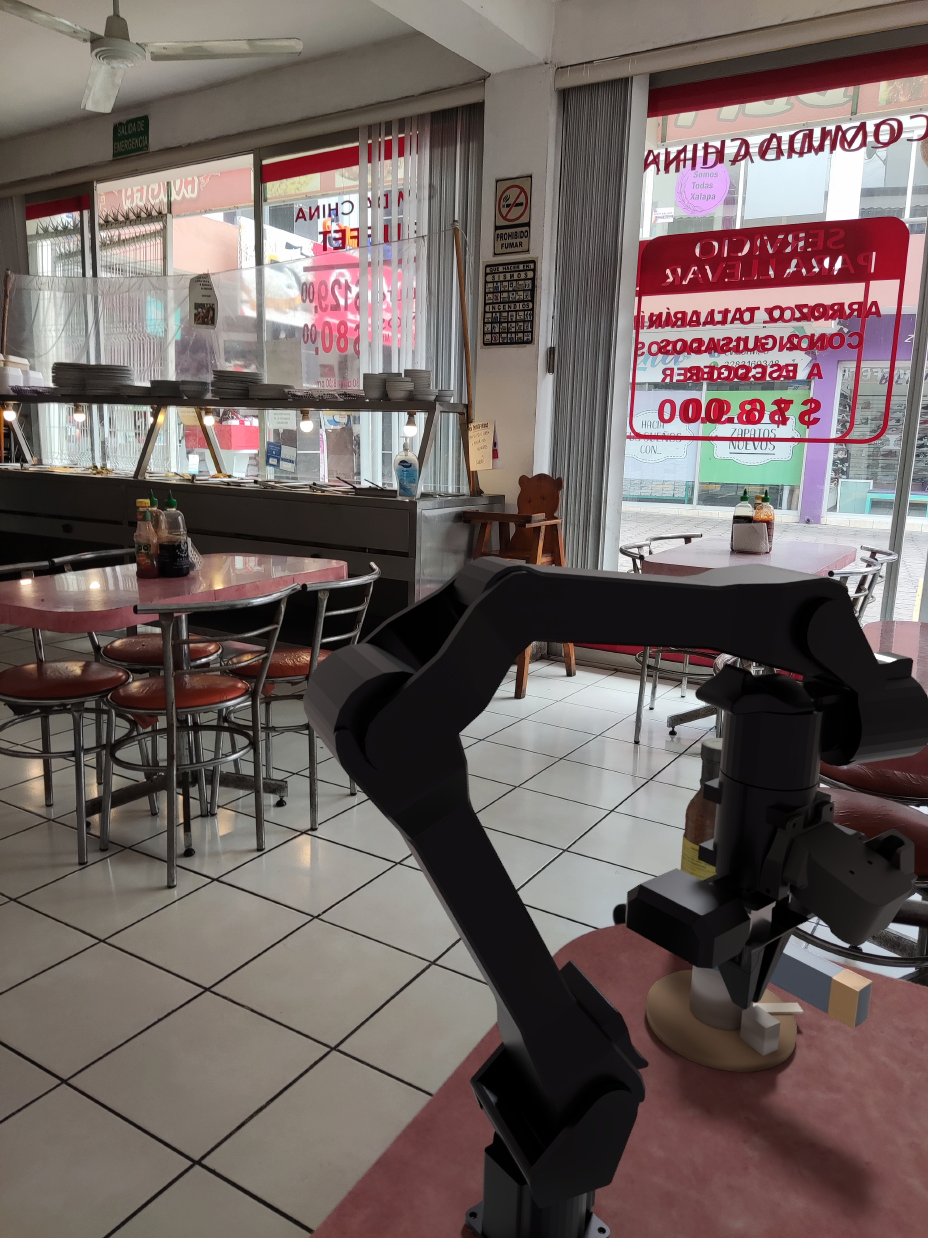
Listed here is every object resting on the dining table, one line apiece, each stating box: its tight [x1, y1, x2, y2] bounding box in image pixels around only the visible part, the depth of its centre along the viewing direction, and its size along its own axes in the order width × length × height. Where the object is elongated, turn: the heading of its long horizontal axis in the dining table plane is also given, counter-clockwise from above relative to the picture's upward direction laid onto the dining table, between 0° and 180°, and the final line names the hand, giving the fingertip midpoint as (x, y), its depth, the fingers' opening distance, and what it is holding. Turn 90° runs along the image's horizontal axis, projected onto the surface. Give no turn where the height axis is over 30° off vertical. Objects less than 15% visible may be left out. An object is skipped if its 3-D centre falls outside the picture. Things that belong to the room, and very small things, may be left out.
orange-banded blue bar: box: [713, 940, 873, 1030], centre depth 69 cm, size 14×6×3 cm, turn 39°
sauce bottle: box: [680, 737, 723, 880], centre depth 85 cm, size 6×6×20 cm
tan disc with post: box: [645, 965, 804, 1073], centre depth 74 cm, size 12×12×6 cm
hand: (746, 1002), depth 57 cm, fingers closed
